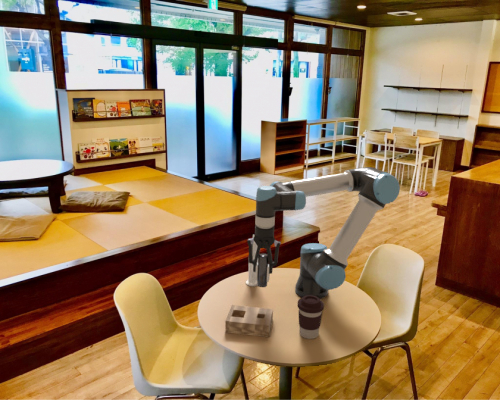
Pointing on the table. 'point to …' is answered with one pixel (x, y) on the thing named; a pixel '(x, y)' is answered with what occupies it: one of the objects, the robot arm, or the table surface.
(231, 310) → the oak block
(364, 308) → the table surface
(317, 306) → the coffee cup
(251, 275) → the candle
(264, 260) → the steel pin
